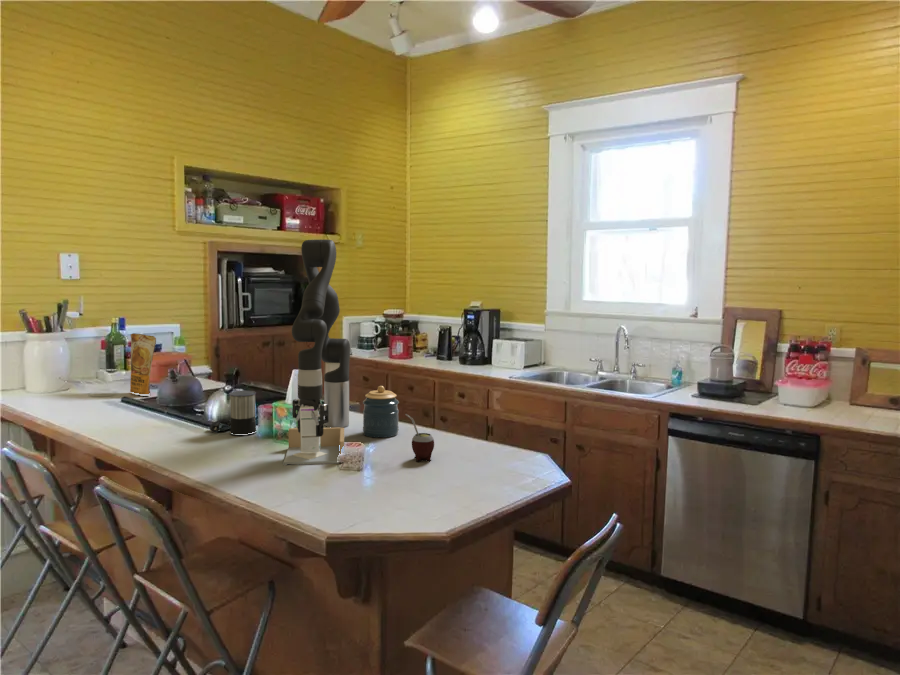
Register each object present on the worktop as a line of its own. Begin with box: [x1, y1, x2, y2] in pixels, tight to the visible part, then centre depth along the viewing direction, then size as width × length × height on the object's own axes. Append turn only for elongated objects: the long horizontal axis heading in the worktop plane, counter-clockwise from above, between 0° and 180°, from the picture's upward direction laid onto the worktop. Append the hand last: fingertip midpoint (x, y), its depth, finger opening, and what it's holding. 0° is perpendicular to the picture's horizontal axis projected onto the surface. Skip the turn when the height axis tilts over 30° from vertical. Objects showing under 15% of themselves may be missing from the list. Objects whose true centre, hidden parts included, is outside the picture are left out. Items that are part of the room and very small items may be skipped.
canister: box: [362, 385, 400, 438], centre depth 233 cm, size 13×13×18 cm
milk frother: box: [209, 390, 257, 434], centre depth 231 cm, size 14×16×15 cm
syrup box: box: [300, 405, 321, 452], centre depth 202 cm, size 6×6×14 cm
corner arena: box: [283, 427, 345, 466], centre depth 204 cm, size 18×18×7 cm
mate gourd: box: [404, 413, 435, 463], centre depth 201 cm, size 8×8×15 cm
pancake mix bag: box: [129, 332, 157, 394], centre depth 296 cm, size 7×19×28 cm, turn 51°
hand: (310, 434), depth 202 cm, fingers closed on syrup box, 8 cm apart
